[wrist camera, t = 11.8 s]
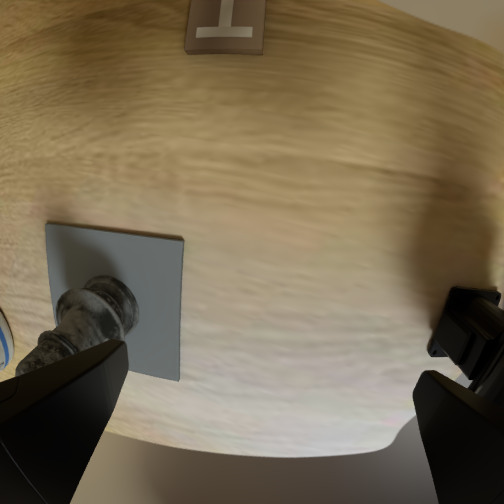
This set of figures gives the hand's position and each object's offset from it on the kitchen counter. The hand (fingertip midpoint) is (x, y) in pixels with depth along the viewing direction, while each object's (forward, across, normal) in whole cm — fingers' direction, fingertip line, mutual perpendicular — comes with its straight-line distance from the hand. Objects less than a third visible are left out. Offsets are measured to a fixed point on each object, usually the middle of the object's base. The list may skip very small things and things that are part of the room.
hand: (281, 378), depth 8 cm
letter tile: (+14, +5, -16) cm, 21 cm away
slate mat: (+13, +12, +6) cm, 19 cm away
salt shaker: (+13, +12, +6) cm, 18 cm away
